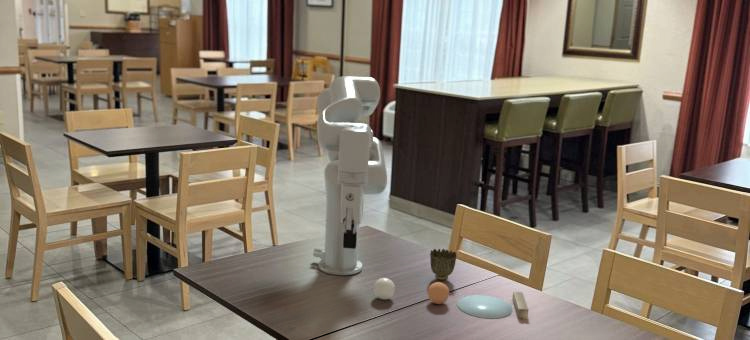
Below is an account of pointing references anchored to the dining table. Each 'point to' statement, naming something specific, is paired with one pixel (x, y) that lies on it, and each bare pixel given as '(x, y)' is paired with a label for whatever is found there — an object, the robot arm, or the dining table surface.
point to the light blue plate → (484, 306)
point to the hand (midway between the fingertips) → (349, 247)
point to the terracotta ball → (438, 293)
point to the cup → (442, 263)
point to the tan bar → (520, 305)
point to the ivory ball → (384, 288)
